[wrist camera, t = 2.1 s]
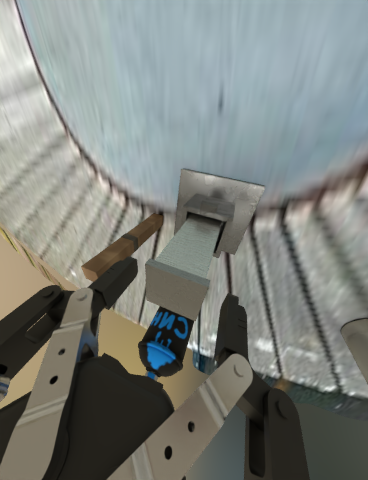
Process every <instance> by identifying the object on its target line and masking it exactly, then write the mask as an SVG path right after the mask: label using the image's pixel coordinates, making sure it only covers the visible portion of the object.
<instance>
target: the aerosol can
mask: <svg viewBox="0 0 368 480" xmlns="http://www.w3.org/2000/svg"><path fill="white" fill-rule="evenodd" d="M193 323H194V320H191V319H189V318H187V317H184V316H182V315H180V314H177V313H175V312H173V311H171V310H168V309H166V308H164V307H161V306H160V307H159V309H158V311H157V313H156V315H155V317H154V318H153V320H152V322H151V324H150V326H149V328H148V330H147V332H146V334H145V336H144V337H143V339H142V341H140V342H139V344H138V348H139V355H140V359H141V361H142V363H143V365H144V366H145V367H146V370H147V372H146V374H145V376H148V377H150V378H152V379H154V380H156V381H157V379H158V377H161V376H164V377H167V376H171V375H173V374H175V373H177V372H178V371H180V370H181V369H182V368H183V364H182V362H183V359H184V355H185V351H186V348H187V345H188V341H189V338H190V334H191V331H192V327H193Z"/></svg>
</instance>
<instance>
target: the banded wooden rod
mask: <svg viewBox="0 0 368 480" xmlns="http://www.w3.org/2000/svg"><path fill="white" fill-rule="evenodd" d="M162 225H163V216H162V215H158V214H155V213H154V214H152V215H151V216H150V217H148V218H147V219H146V220H144V221H143V222H142V223H140V224H139V225H137V226H136V227H135V228H133V229H132V230H131V231H129V232H128V233H126V234H124V235H123V236H121V238H120V239H118V240H117V241H115V242H114V243H113V244H111V245H110V246H109V247H107V248H106V249H104V250H103V251H102V252H100V253H99V254H98V255H96V256H95V257H93V258H92V259H91V260H89V261H88V262H87V263H85V264H84V265H82V266H81V267H82V270H83V272H84V275H85V277H86V278H87V279H89V280H91V281H93V282H94V281H95V280H97V279H98V278H99V277H100V276H101V275H102V274H103V273H104V272H106V270H108V269H109V268H110V267H111V266H112V265H113V264H114V263H116V262H118V261H120V260H122V261H123V260H124V259H125V258H126V257H128V256H130V255H131V254H132V253H134V252H135V251H136V250H137V249H138V248H139V247H140V246H141V245H142V244H143V243H144V242H145V241H146V240H147V239H148V238H149V237H150V236H151V235H153V234H154V233H155V232H156V231H157V230H158V229H159V228H160V227H161V226H162Z"/></svg>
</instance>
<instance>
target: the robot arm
mask: <svg viewBox="0 0 368 480" xmlns="http://www.w3.org/2000/svg"><path fill="white" fill-rule="evenodd" d="M137 273H138V266H137V259H134V258H132V257H129V256H128V257H126V258H125V259H124V260H123V261H122V260H120V261H118V262H116V263H114V264H113V265H112V266H111V267H110V268H109V269H108V270H106V272H104V273H103V274H102V275H101V276H100V277H99V278H98V279H97V280H95V281H94V282H93V283H92V284H91V285H90V286H89V287H87V288H81V289H78V290H77V291H65V290H62V289H61V288H60V286H57V285H51V286H48V287H45V288H43V289H42V290H40V291H39V292H37V293H36V294H35V295H33V296H32V297H31V298H30V299H28V300H27V301H25V302H24V303H23V304H22V305H20V306H19V307H18V308H16V309H15V310H14V311H13V312H11V313H10V314H8V315H7V316H6V317H5V318H3V319H2V320H1V321H0V401H2V400H3V399H4V398H5V396H6V395H7V392H8V390H7V389H8V387H9V384H10V380H11V379H12V378H13V377H14V376H15V375H16V374H17V373H18V372H19V371H20V370H21V369H22V367H23V366H24V365H25V364H26V363H27V362H28V361H29V360H30V359H31V358H32V357H33V356H34V355H35V354H36V353H37V352H38V350H39V349H40V348H41V347H42V346H43V345H44V344H45V343H46V342H47V341H48V340H49V339H50V338H51V339H50V341H49V344H48V347H47V350H46V353H45V356H44V358H43V361H42V364H41V367H40V370H39V372H38V375H37V378H36V381H35V384H34V387H33V389H32V391H30V392H29V393H27V394H25V395H24V396H22V397H21V398H19V399H17V400H15V401H13V402H12V403H10V404H8V405H7V406H5V407H3V408H2V409H0V480H186V477H185V474H186V473H187V472H188V470H189V469H190V468H191V466H192V464H194V462H195V461H196V459H197V458H198V457H199V456H200V454H201V453H202V452H203V450H204V449H205V448H206V446H207V445H208V444H209V442H210V441H211V440H212V438H213V437H214V436H215V435H216V433H217V432H218V431H219V429H220V428H221V426H222V425H223V423H224V421H225V418H226V416H227V414H228V413H229V411H230V410H231V409H232V408H233V406H234V405H235V404H236V405H237V406H238V407H239V408H240V409H241V410H242V411H243V412H244V413H245V414H246V429H245V464H244V480H310V479H309V473H308V468H307V461H306V455H305V449H304V443H303V437H302V432H301V426H300V420H299V415H298V412H297V409H296V407H295V405H294V403H293V401H292V400H291V399H290V397H289V396H288V395H287V394H286V393H285V392H284V391H282V390H280V389H277V388H274V389H272V388H271V387H270V386H269V385H268V384H267V383H265V382H264V381H263V380H262V379H261V378H260V377H259V376H258V375H257V374H256V373H255V372H254V370H253V369H252V367H251V365H250V363H249V359H248V341H247V314H246V312H245V309H244V307H243V306H240V305H238V301H239V299H238V297H237V296H234V295H232V294H229V293H228V294H227V296H226V298H225V300H224V302H223V303H222V306H221V310H220V317H219V324H218V332H217V339H216V347H215V354H214V360H216V361H218V367H217V370H216V371H215V372H214V373H213V374H212V375H211V376H210V377H209V378H208V379H207V380H206V381H205V382H204V383H203V384H202V385H201V386H200V387H199V388H198V389H197V390H196V391H195V392H194V393H193V394H192V395H191V396H190V397H189V398H188V399H187V400H186V401H185V402H184V403H183V404H182V405H181V406H180V407H179V408H178V409H177V410H176V411H174V407H173V404H172V402H171V400H170V398H169V396H168V394H167V393H166V391H165V390H164V389H163V384H161V383H159V382H157V381H156V380H154V379H152V378H150V377H148V376H141V375H133V374H129V373H128V372H127V370H126V369H125V368H124V367H123V366H122V365H121V363H120V362H119V361H118V360H116V359H115V358H113V357H111V356H109V355H107V354H105V353H104V354H103V355H102V356H98V333H99V325H100V317H101V311H102V310H103V309H104V308H106V309H108V310H109V309H110V308H111V307H112V305H113V304H114V303H115V302H116V300H117V299H118V298H119V297H120V296H121V294H122V293H123V292H124V291H125V289H126V288H127V287H128V286H129V285H130V283H131V282H132V281H133V280H134V278H135V277H136V276H137ZM45 313H46V315H45ZM43 315H44V316H43ZM42 316H43V317H42ZM41 317H42V318H41ZM40 318H41V319H40ZM39 319H40V320H39ZM38 320H39V321H38ZM37 321H38V322H37ZM36 322H37V323H36ZM35 323H36V324H35ZM34 324H35V325H34ZM32 325H33V326H32ZM31 326H32V327H31ZM30 327H31V328H30ZM29 328H30V329H29ZM28 329H29V330H28ZM27 330H28V331H27ZM341 334H342V336H343V338H344V340H345V342H346V344H347V346H348V348H349V350H350V351H351V353H352V355H353V357H354V359H355V361H356V363H357V365H358V367H359V369H360V371H361V373H362V374H363V376H364V378H365V380H366V382H367V384H368V319H362V320H357V321H353V322H350V323H348V324H346V325H345V326H344V327H343V328H342V329H341Z"/></svg>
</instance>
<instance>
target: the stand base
mask: <svg viewBox="0 0 368 480" xmlns="http://www.w3.org/2000/svg"><path fill="white" fill-rule="evenodd" d="M264 189H265V186H264V185H259V184H254V183H249V182H245V181H240V180H235V179H230V178H226V177H221V176H216V175H211V174H207V173H202V172H197V171H192V170H187V169H181V176H180V185H179V194H178V203H177V212H176V221H175V230H174V236H175V234H176V233H177V232H178V231H179V229H180V228H181V227H182V226H183V224H184V223H185V222H186V221H187V219H188V218H189V217H190V215H191V214H192V213H196V214H200V215H203V216H207V217H211V218H214V219H218V220H222V224H221V228H220V231H219V234H218V238H217V241H216V245H215V248H214V252H213V255H212V256H214V257H217V258H219V256H220V254H221V251H225V252H228V253H231V254H234V255H235V253H236V250H237V248H238V246H239V244H240V242H241V239H242V237H243V235H244V233H245V231H246V229H247V226H248V224H249V222H250V220H251V218H252V215H253V213H254V211H255V209H256V207H257V204H258V202H259V200H260V198H261V196H262V193H263V191H264Z"/></svg>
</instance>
